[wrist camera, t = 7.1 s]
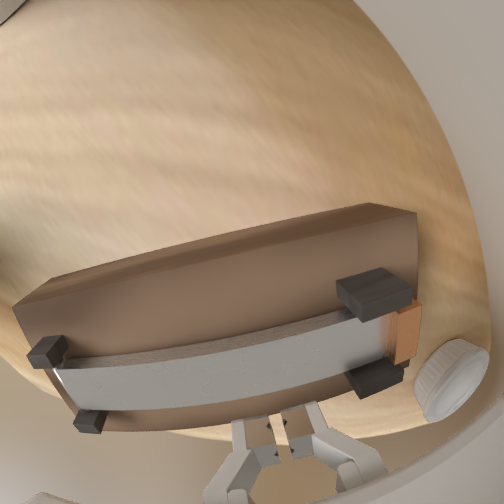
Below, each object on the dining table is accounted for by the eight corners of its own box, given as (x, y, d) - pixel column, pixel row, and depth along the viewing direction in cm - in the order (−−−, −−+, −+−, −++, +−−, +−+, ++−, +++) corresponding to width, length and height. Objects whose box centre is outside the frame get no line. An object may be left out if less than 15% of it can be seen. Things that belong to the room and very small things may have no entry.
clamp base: (51, 278, 18) (-14, 328, 10) (368, 202, 20) (452, 221, 11) (105, 387, 22) (77, 456, 13) (375, 330, 23) (430, 389, 14)
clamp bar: (54, 356, 14) (39, 374, 11) (401, 285, 14) (422, 299, 12) (82, 401, 15) (72, 420, 13) (398, 341, 15) (415, 359, 13)
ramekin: (422, 407, 29) (439, 429, 24) (393, 386, 26) (414, 414, 21) (472, 350, 28) (494, 368, 22) (455, 316, 25) (483, 335, 20)
